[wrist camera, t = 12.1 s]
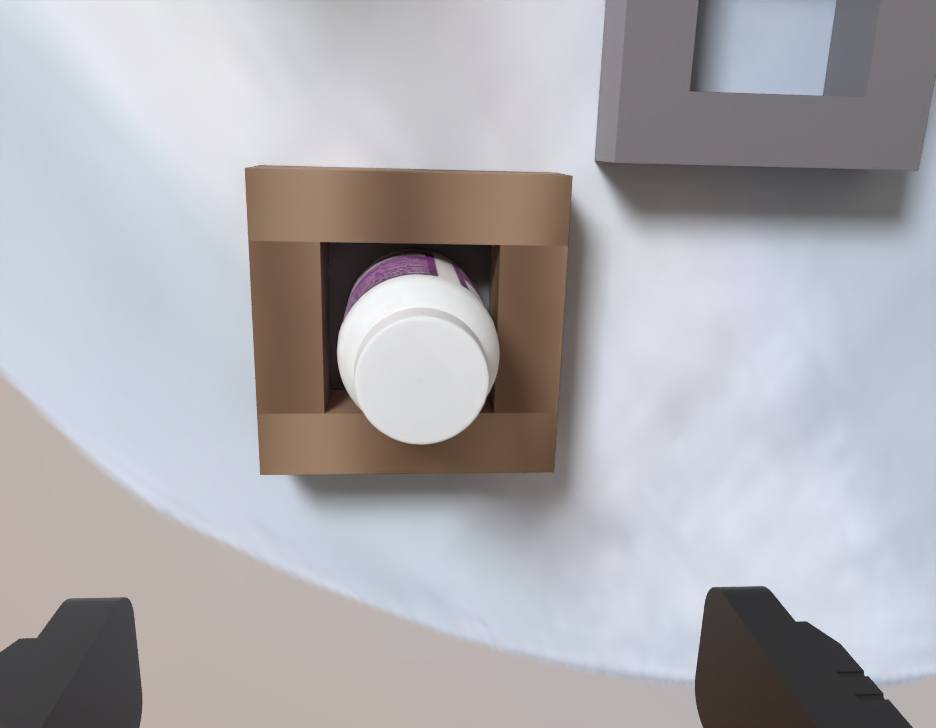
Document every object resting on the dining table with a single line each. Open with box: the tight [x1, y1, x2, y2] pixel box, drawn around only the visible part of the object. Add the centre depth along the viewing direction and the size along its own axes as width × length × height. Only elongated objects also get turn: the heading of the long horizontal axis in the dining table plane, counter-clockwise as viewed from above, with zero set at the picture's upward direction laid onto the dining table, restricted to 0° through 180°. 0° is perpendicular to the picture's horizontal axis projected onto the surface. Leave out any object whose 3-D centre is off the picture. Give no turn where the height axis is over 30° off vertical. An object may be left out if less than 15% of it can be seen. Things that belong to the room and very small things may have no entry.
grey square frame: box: [595, 0, 936, 171], centre depth 28 cm, size 12×12×3 cm
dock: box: [245, 165, 572, 475], centre depth 30 cm, size 12×12×3 cm
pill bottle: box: [337, 248, 500, 445], centre depth 27 cm, size 5×5×10 cm
